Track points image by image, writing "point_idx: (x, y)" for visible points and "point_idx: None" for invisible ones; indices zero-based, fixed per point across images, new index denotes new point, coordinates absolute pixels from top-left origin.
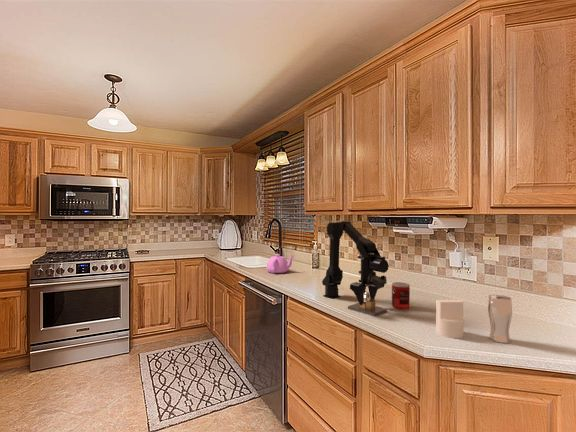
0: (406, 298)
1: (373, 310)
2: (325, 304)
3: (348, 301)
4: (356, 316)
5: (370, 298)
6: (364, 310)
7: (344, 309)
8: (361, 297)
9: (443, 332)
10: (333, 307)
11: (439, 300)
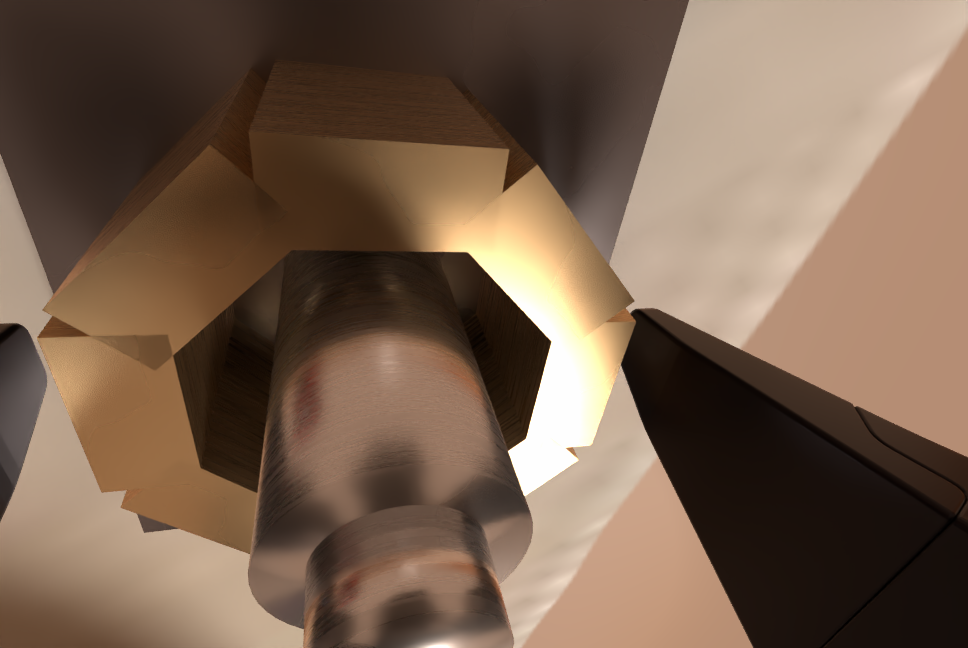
0: None
1: (484, 8)
2: (533, 625)
3: (196, 631)
4: (830, 174)
5: (107, 436)
6: (615, 190)
7: (582, 457)
8: (905, 442)
9: None
10: (582, 547)
11: None
